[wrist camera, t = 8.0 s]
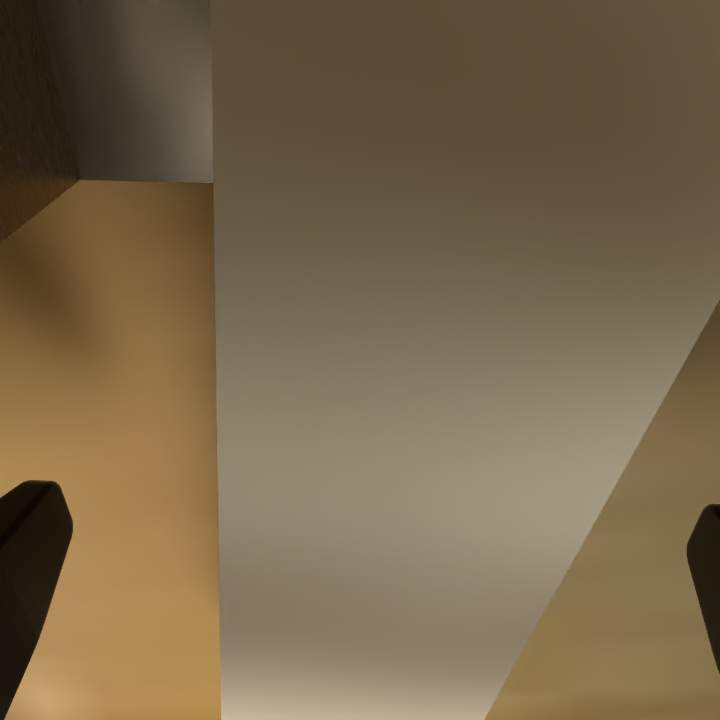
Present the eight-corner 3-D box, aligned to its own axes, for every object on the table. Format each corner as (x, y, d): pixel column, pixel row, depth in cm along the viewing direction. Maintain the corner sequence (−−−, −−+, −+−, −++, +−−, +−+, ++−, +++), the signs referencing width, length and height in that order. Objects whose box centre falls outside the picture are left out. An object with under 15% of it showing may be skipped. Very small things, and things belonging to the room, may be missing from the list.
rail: (399, 661, 15) (402, 864, 12) (258, 647, 15) (223, 849, 12) (688, -203, 6) (1067, -323, 3) (308, -268, 6) (201, -483, 2)
